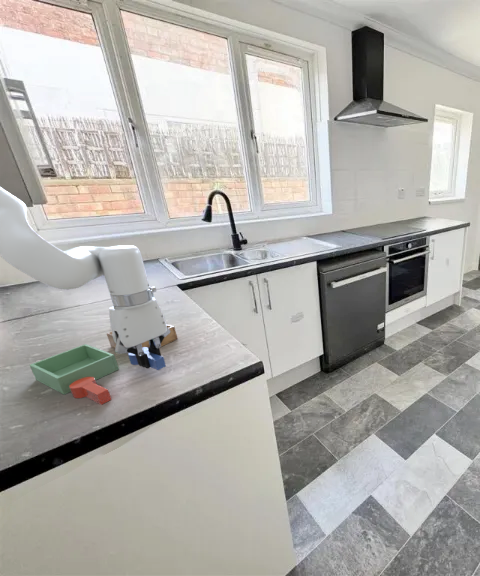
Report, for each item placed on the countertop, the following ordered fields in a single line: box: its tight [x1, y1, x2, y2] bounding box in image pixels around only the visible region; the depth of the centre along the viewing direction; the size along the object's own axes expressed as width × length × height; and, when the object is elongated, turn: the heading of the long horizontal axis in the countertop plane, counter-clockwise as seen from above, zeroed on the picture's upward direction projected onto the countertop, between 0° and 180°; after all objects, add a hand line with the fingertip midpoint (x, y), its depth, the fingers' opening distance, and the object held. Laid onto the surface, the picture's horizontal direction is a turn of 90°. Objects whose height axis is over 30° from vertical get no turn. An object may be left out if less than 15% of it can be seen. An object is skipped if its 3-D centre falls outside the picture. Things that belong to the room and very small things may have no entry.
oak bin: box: [106, 323, 179, 349], centre depth 94 cm, size 11×14×4 cm
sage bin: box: [29, 343, 120, 395], centre depth 79 cm, size 11×14×4 cm
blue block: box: [127, 347, 167, 371], centre depth 80 cm, size 11×4×3 cm, turn 66°
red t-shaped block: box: [69, 377, 112, 406], centre depth 71 cm, size 11×4×3 cm, turn 65°
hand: (151, 363), depth 80 cm, fingers closed on blue block, 2 cm apart
